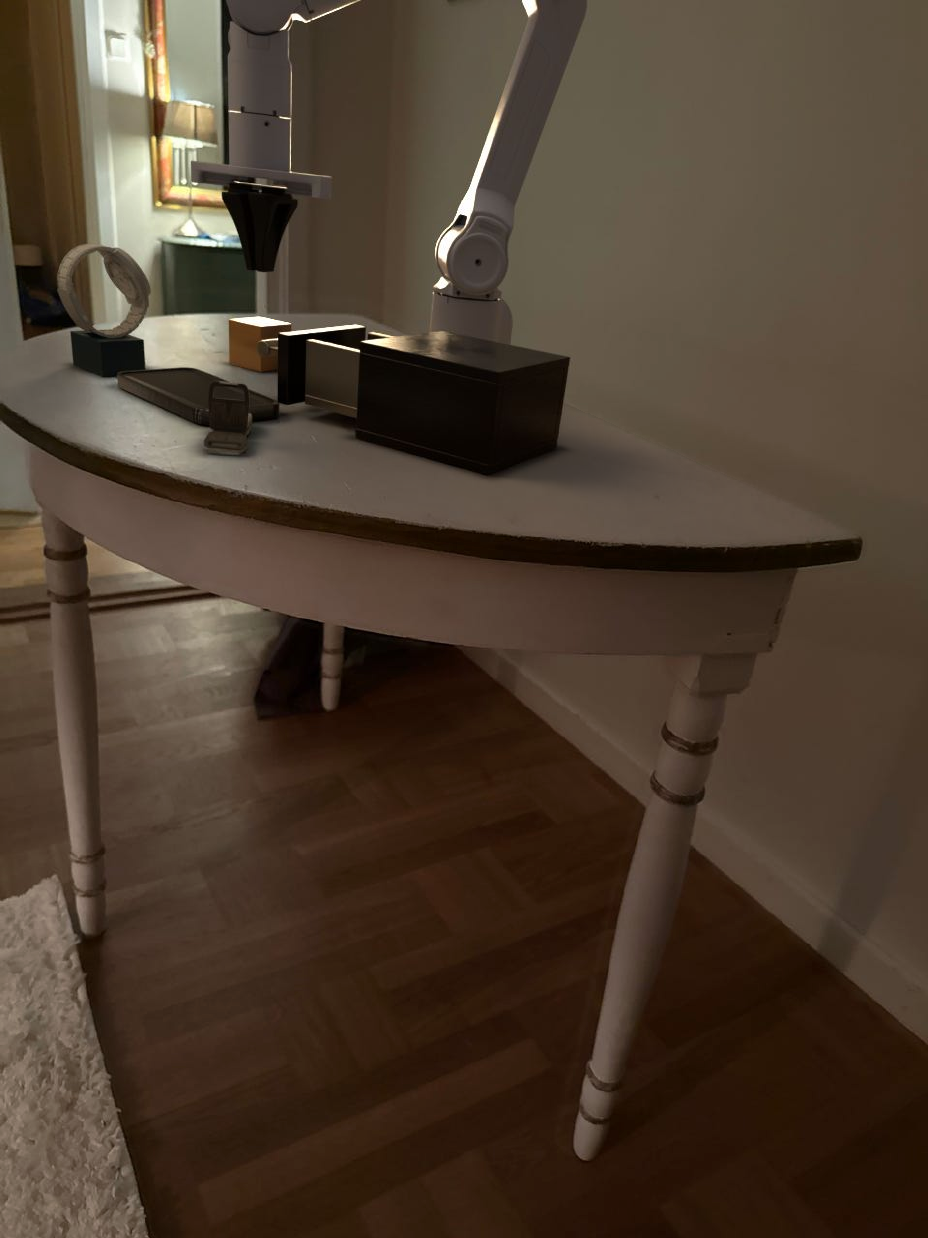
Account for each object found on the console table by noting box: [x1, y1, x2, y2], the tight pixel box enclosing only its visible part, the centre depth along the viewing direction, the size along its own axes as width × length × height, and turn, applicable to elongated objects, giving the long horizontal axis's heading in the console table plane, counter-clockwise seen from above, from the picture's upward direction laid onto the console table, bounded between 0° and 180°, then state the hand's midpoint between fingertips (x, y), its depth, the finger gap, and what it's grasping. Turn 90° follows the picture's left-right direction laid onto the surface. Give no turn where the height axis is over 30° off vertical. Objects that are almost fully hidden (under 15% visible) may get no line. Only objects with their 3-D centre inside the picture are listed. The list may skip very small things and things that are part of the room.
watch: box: [56, 243, 152, 378], centre depth 82 cm, size 6×8×11 cm
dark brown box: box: [355, 331, 571, 476], centre depth 71 cm, size 13×12×8 cm
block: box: [228, 316, 292, 373], centre depth 91 cm, size 4×4×4 cm
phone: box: [116, 366, 280, 426], centre depth 76 cm, size 8×1×15 cm
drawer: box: [257, 324, 393, 419], centre depth 76 cm, size 16×10×6 cm, turn 58°
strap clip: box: [203, 381, 253, 454], centre depth 66 cm, size 8×3×4 cm, turn 8°
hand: (260, 270), depth 88 cm, fingers closed
